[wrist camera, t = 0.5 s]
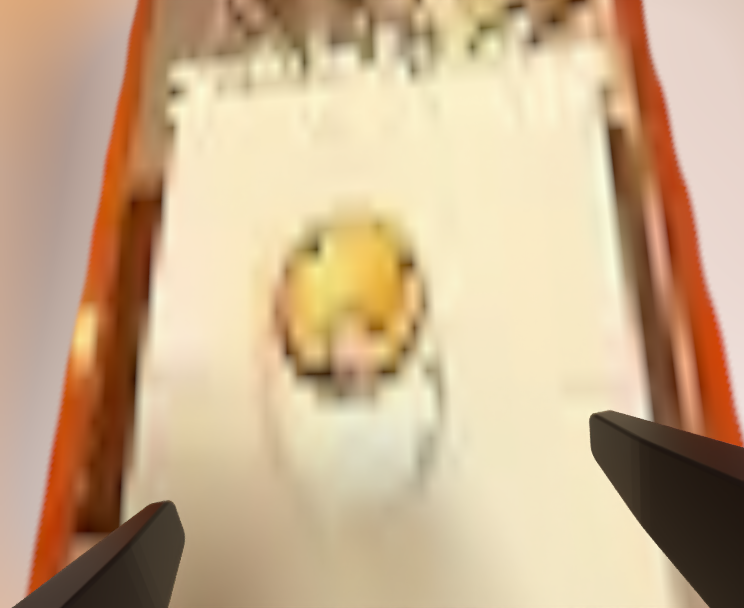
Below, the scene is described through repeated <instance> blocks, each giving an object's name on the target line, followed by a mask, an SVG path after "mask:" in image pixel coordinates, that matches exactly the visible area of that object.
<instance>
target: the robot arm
mask: <svg viewBox="0 0 744 608" xmlns="http://www.w3.org/2000/svg"><path fill="white" fill-rule="evenodd" d="M589 426H590V444H591V451H592V454H593V456H594V458H595V460H596V461H597V463H598V464H599V466H600V467H601V469H602V470H603V472H604V473H605V474H606V476H607V477H608V479H609V480H610V482H611V483H612V485H613V486H614V488H615V489H616V490H617V492H618V493H619V495H620V496H621V498H622V499H623V501H624V502H625V503H626V505H627V506H628V508H629V509H630V511H631V512H632V514H633V515H634V516H635V518H636V519H637V520H638V522H639V523H640V524H641V526H642V527H643V528H644V529H645V531H646V532H647V533H648V534H649V536H650V537H651V538H652V539H653V541H654V542H655V543H656V544H657V545H658V547H659V548H660V549H661V550H662V551H663V552H664V554H665V555H666V556H667V557H668V558H669V560H670V561H671V562H672V563H673V564H674V566H675V567H676V568H677V569H678V570H679V572H680V573H681V574H682V575H683V576H684V578H685V579H686V580H687V581H688V582H689V584H690V585H691V586H692V587H693V588H694V590H695V591H696V592H697V593H698V594H699V596H700V597H701V598H702V599H703V600H704V602H705V603H706V604H707V605H708V606H709V607H710V608H744V448H743V447H739V446H736V445H732V444H729V443H725V442H722V441H718V440H715V439H711V438H707V437H704V436H700V435H697V434H693V433H690V432H686V431H683V430H679V429H675V428H672V427H668V426H665V425H661V424H658V423H654V422H651V421H647V420H644V419H640V418H636V417H633V416H629V415H626V414H622V413H619V412H615V411H611V410H607V411H603V412H598V413H593V414H592V415H591V416H590V419H589ZM184 543H185V533H184V529H183V527H182V524H181V521H180V518H179V515H178V512H177V510H176V507H175V505H174V503H173V502H172V501H170V500H167V501H162V502H157V503H152V504H150V505H148V506H147V507H145V508H144V509H143V510H141V511H140V512H139V513H137V514H136V515H135V516H133V517H132V518H131V519H129V520H128V521H127V522H125V523H124V524H123V525H121V526H120V527H119V528H117V529H116V530H115V531H113V532H112V533H111V534H109V535H108V536H107V537H105V538H104V539H103V540H101V541H100V542H99V543H97V544H96V545H95V546H93V547H92V548H91V549H89V550H88V551H87V552H85V553H84V554H83V555H81V556H80V557H79V558H77V559H76V560H75V561H73V562H72V563H71V564H69V565H68V566H67V567H66V568H64V569H63V570H62V571H60V572H59V573H58V574H56V575H55V576H54V577H52V578H51V579H50V580H48V581H47V582H46V583H44V584H43V585H42V586H40V587H39V588H38V589H36V590H35V591H34V592H32V593H31V594H30V595H28V596H27V597H26V598H24V599H23V600H22V601H20V602H19V603H18V604H16V605H15V606H14V607H12V608H168V606H169V602H170V598H171V594H172V591H173V587H174V583H175V579H176V575H177V571H178V567H179V564H180V560H181V556H182V552H183V548H184Z"/></svg>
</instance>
